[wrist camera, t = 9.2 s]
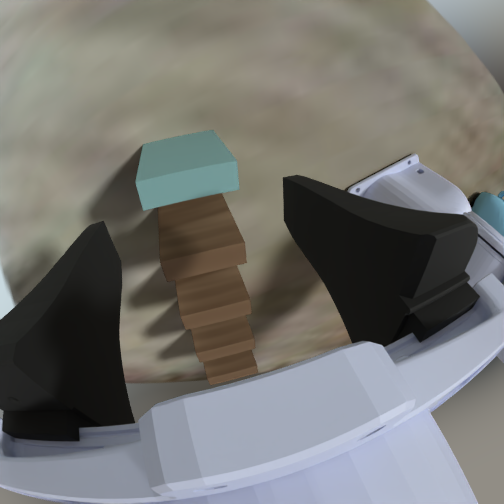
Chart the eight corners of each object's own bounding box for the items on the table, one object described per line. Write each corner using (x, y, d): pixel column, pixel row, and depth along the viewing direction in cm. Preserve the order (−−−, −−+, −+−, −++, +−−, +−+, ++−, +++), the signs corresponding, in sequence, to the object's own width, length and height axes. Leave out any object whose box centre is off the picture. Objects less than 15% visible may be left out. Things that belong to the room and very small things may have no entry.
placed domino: (143, 144, 18) (135, 182, 12) (212, 130, 19) (236, 160, 13) (147, 164, 19) (143, 210, 13) (215, 150, 20) (239, 189, 14)
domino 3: (184, 294, 27) (195, 353, 22) (233, 282, 28) (254, 338, 23) (188, 304, 28) (199, 362, 23) (235, 292, 29) (255, 348, 24)
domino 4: (194, 324, 30) (207, 378, 25) (238, 313, 31) (257, 365, 26) (197, 332, 31) (210, 385, 26) (239, 321, 32) (257, 372, 27)
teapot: (430, 263, 39) (474, 311, 30) (484, 169, 30) (539, 209, 21) (455, 269, 44) (491, 308, 36) (500, 193, 36) (542, 227, 27)
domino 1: (157, 205, 21) (160, 262, 16) (220, 191, 22) (244, 242, 16) (162, 222, 22) (167, 282, 17) (222, 208, 23) (246, 262, 17)
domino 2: (172, 255, 24) (180, 316, 19) (227, 242, 25) (250, 299, 20) (176, 268, 25) (185, 329, 20) (229, 255, 26) (251, 313, 21)
